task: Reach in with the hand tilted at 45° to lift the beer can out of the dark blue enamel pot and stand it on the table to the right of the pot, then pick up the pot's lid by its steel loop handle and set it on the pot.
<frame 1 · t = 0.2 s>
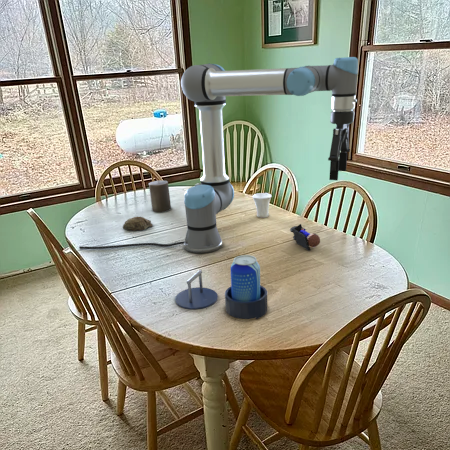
hand: (337, 175, 156), 28 cm above the table, tool pointing down, fingers open, 13 cm apart
beer can: (246, 309, 132), resting on pot
pillar candle: (161, 209, 226), on the table
pot: (246, 309, 132), on the table
bread roll: (138, 227, 204), on the table
toy dinosaur: (201, 202, 234), on the table
cup: (262, 216, 209), on the table
lid: (196, 298, 139), point 1 cm above the table
character figurine: (304, 246, 174), on the table
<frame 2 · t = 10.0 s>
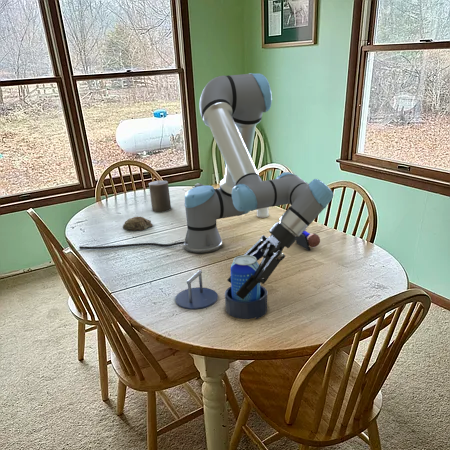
hand: (235, 289, 128), 8 cm above the table, tool tilted 45°, fingers closed on beer can, 8 cm apart
beer can: (246, 309, 132), resting on pot, touching gripper
everything else where it was.
when the fingers open (7 cm above the table, at t = 18.4 s): beer can stays where it is, on the table.
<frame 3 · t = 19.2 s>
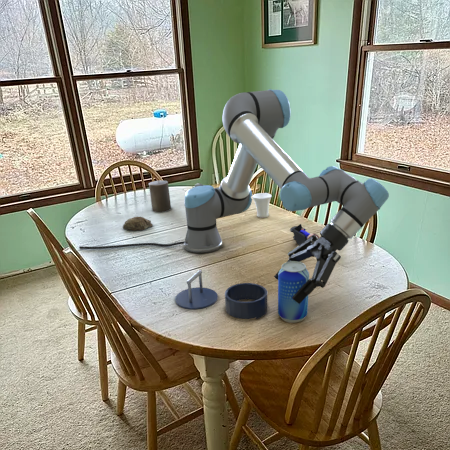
hand: (285, 289, 123), 9 cm above the table, tool tilted 45°, fingers open, 13 cm apart
beer can: (292, 317, 128), on the table
everything else where it was.
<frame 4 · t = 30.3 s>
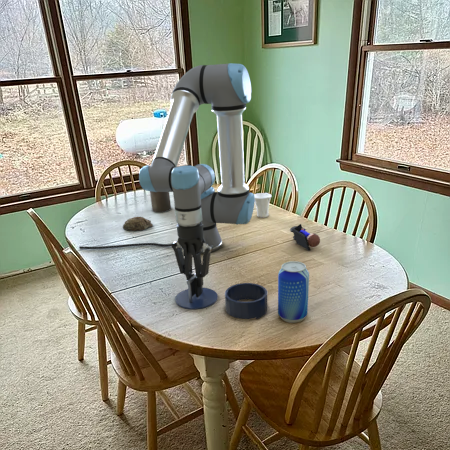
hand: (196, 294, 138), 2 cm above the table, tool pointing down, fingers closed on lid
lid: (196, 298, 139), point 1 cm above the table, touching gripper
everything else where it was.
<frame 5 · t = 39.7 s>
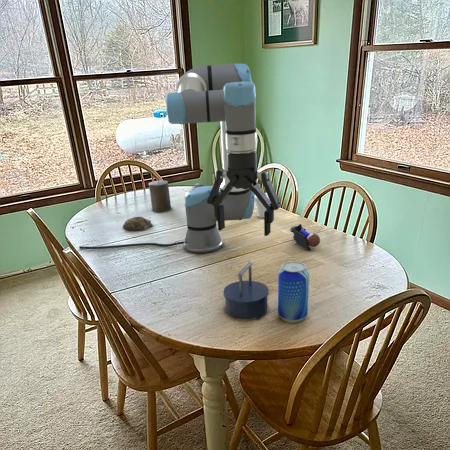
hand: (244, 231, 120), 25 cm above the table, tool pointing down, fingers open, 13 cm apart
lid: (245, 292, 130), point 6 cm above the table, touching pot
everything else where it was.
at the end: beer can inside the target area (0.0 cm from its centre), on the table; lid 0.1 cm off-centre on the pot, point 5.9 cm above the pot's base; lid tilted 0° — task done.
